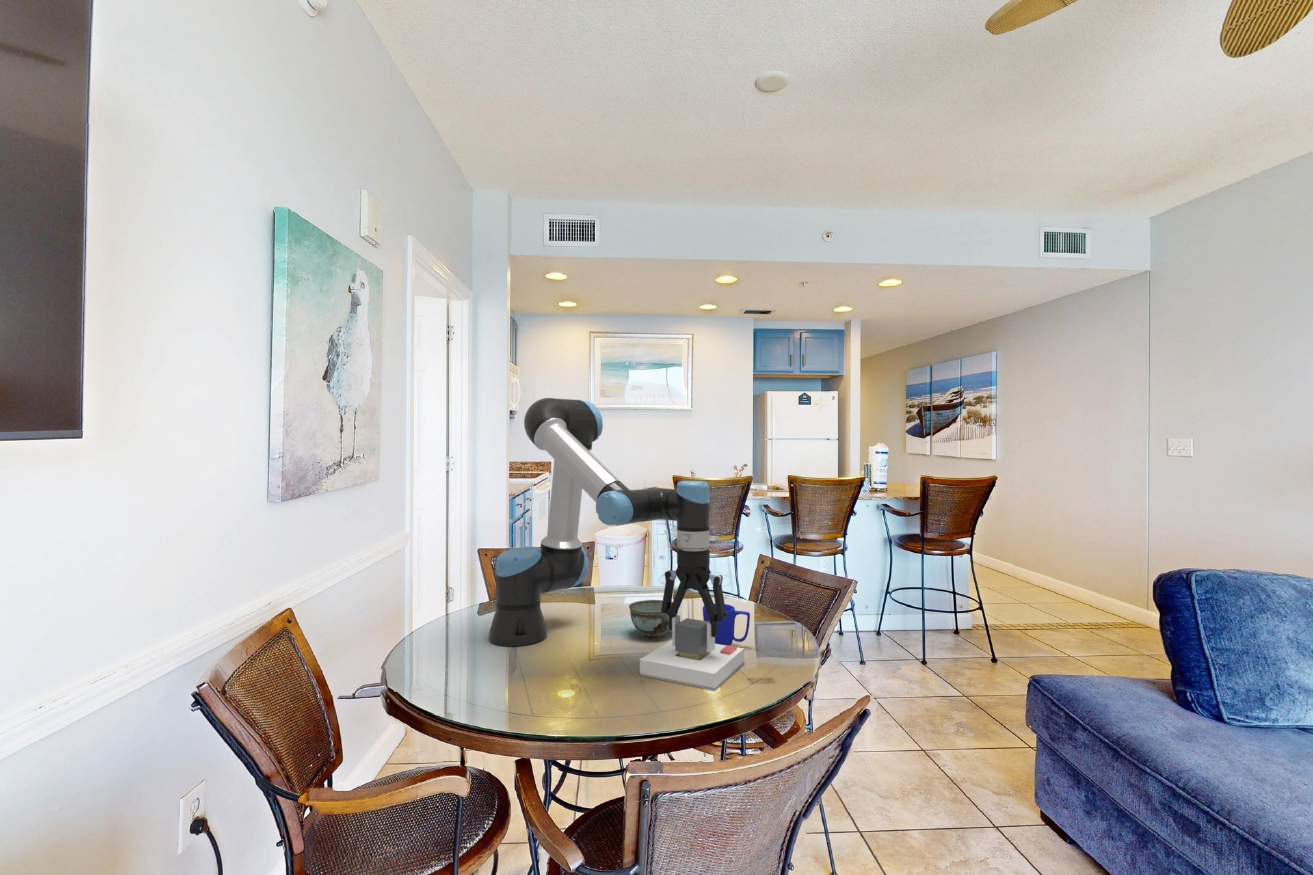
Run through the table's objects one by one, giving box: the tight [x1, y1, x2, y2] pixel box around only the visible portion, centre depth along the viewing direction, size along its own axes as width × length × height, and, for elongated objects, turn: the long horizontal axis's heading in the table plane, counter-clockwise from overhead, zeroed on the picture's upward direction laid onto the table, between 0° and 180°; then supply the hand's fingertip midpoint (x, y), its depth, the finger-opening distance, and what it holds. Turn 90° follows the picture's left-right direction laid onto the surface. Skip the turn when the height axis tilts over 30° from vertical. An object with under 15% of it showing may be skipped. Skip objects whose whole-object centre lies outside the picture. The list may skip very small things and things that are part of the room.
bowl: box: [628, 599, 678, 639], centre depth 164 cm, size 14×13×8 cm
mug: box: [702, 603, 751, 646], centre depth 154 cm, size 8×12×10 cm
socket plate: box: [639, 639, 745, 691], centre depth 138 cm, size 18×18×4 cm
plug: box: [675, 617, 709, 661], centre depth 138 cm, size 6×6×10 cm
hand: (693, 647), depth 138 cm, fingers open, 8 cm apart
